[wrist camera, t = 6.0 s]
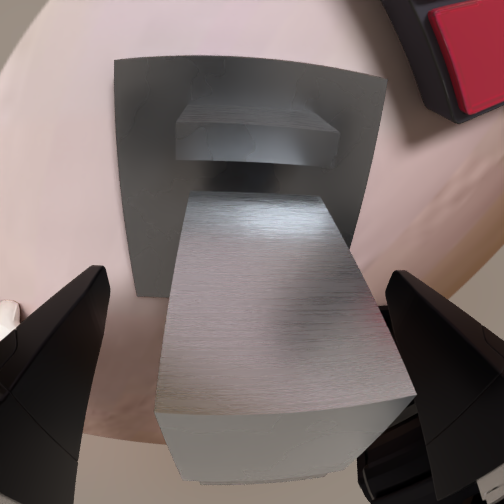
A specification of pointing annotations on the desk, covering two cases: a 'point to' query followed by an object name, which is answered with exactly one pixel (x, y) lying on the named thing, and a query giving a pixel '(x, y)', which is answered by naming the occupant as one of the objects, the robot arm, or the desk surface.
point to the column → (271, 345)
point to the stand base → (235, 142)
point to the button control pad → (453, 53)
